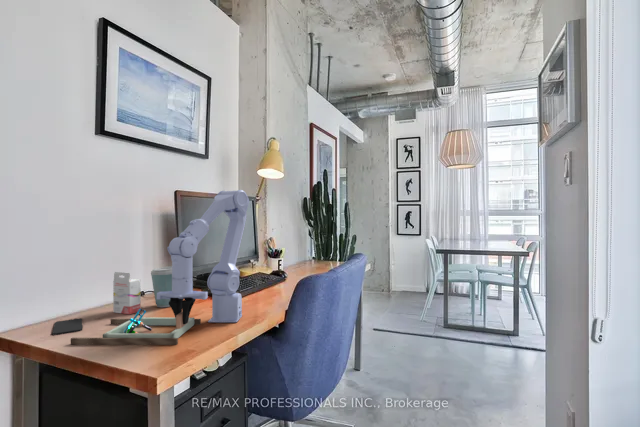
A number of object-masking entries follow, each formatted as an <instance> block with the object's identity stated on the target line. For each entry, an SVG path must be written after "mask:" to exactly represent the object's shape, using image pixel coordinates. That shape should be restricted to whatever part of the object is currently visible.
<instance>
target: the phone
mask: <svg viewBox="0 0 640 427" xmlns="http://www.w3.org/2000/svg"><path fill="white" fill-rule="evenodd" d="M83 328H84V326H83V318H79V317H78V318H73V319H72V318H71V319H64V320H57V321H55V322H54V325H53V328H52V333H51V334H52V335H53V336H58V335H59V336H60V335H66V334H72V333H73V334H74V333H78V332H81V331H83Z"/></svg>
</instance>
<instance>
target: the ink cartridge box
mask: <svg viewBox="0 0 640 427" xmlns="http://www.w3.org/2000/svg"><path fill="white" fill-rule="evenodd" d="M121 276H122V277H121ZM130 276H131V275H130V272H120V271H119V272H118V271H114V273H113V282H112V283H113V284H112V285H113V290H112V291H113V294H112V295H113V300H112V301H113V302H112V303H113V304H112V306H113V311H112V312H113V313H115V314H121V315H123V314H124V315H129V316H130V315H132V314H136V313H137V312H138V310H139V309H142V308H141V306H142V305H141V279H138V278H137V279H135V278H131V277H130ZM140 312H142V311H141V310H140V311H139V313H140Z"/></svg>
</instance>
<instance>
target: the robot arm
mask: <svg viewBox="0 0 640 427" xmlns="http://www.w3.org/2000/svg"><path fill="white" fill-rule="evenodd" d="M213 199H214V200H213V202H212V203H210V205H209V207H208V208H207V210H205V212H204V213H203V214H202V216H201V217H200V218H194V219H193V220H190V222H189V225H188V226H187V227H186V228H185V229H184V230H183V231H181V232H180V233H179V236H178V237H173V239H172V240H171V241H170V242H169V245H168V246H167V247H166V248H167V252H168V254H169V255H170V261H171V266H172V291H165V292H158V293H157V299H170V301H169V305H170V307H169V308H171V310H172V313H173V315H174V318H176V315H178V314H179V313H181V312H182V311H183V324H186V323H188V319H189V318H190V314H191V310H192V308H193V306H194V304H195V301H196V300H205V301H206V300H207V299H208V295H209V292H208V291H200V290H193V288H194V287H193V286H194V282H193V279H194V278H193V277H194V276H193V272H194V271H193V268H194V267H193V266H194V265H193V264H194V263H193V262H194V259H193V258H194V255H195V254H196V253H197V251H198V246H199V243H200V242H201V241H202V240H203V239H204V238H205V236H206V235H207V234H208V233H209V231H210V225H211V224H212V223H213V222H214V221H215V220H216V219H217V218H218V217H219V216H220V215H221V214H222V213H223V212H224V214H225V215H226V216H228V218H229V222H228V227H227V229H226V234H225V239H224V243H223V246H222V250H221V255H220V257H219V258H220V259H219V262H218V263H217V264H215V266H213V267H212V270H211V273H210V274H209V276H208V278H207V283H206V284H207V288H208V289H209V290H210V293H211V294H212V299H211V300H212V303H211V304H212V305H211V306H212V307H211V308H212V310H211V311H212V312H211V313H212V315H211V316H212V317H210V319H208V321H207V322H208V323H238V321H239V320H240V319H241V318H242V316H243V312H242V311H243V310H242V309H243V297H242V294H241V293H239V292H237V290H238V289H239V286H240V275H241V271H240V270H239V269H238V268H237V266H236V264H237V261H238V257H239V252H240V248H241V247H240V246H241V242H242V238H243V234H244V231H245V230H244V229H245V226H246V221H247V217H248V216H247V211H248V208H249V204H250V199H249V196H248V195H247V192H246V191H245V190H243V189H238V190H220V191H219V192H218V193H217V194H216V195H215V196H214V198H213Z"/></svg>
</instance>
